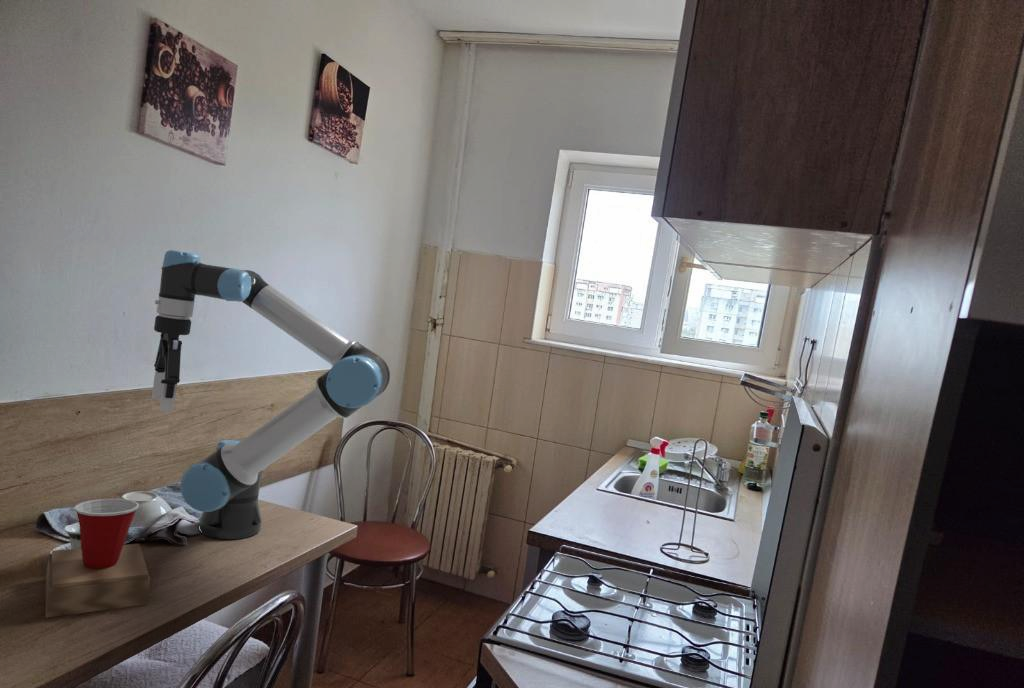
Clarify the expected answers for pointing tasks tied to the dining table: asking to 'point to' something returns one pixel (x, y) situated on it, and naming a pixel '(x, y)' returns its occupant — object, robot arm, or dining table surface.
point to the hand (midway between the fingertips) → (161, 404)
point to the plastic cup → (104, 530)
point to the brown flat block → (95, 582)
